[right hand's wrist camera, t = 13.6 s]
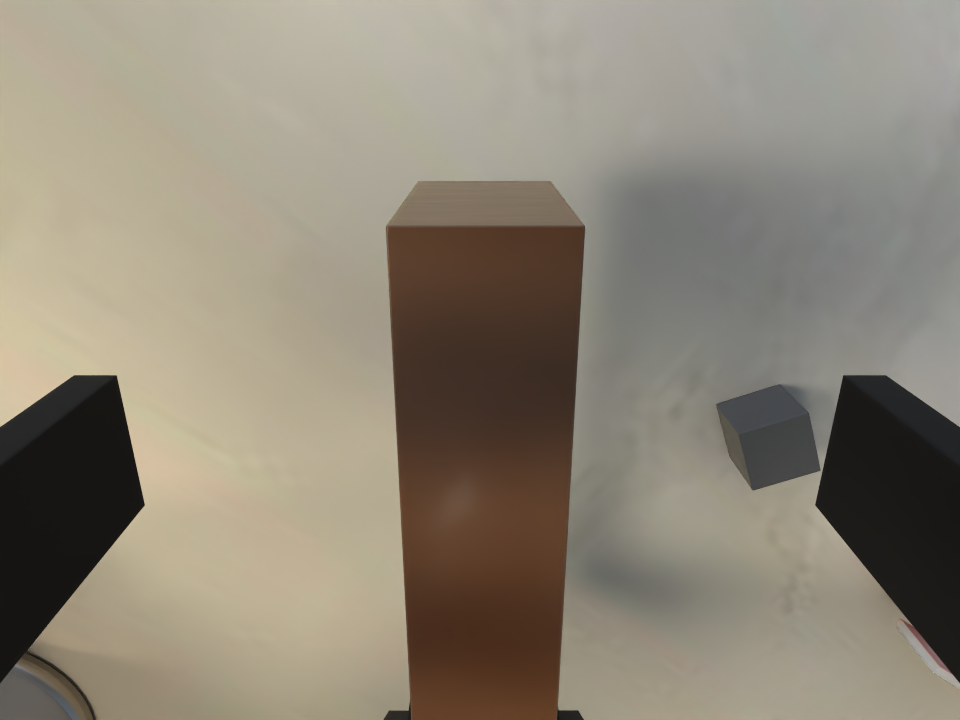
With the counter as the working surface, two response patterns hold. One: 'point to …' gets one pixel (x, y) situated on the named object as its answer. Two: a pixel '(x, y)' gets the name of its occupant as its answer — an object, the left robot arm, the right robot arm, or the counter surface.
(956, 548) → the right robot arm
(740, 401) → the slate block
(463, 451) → the bar
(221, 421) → the counter surface
